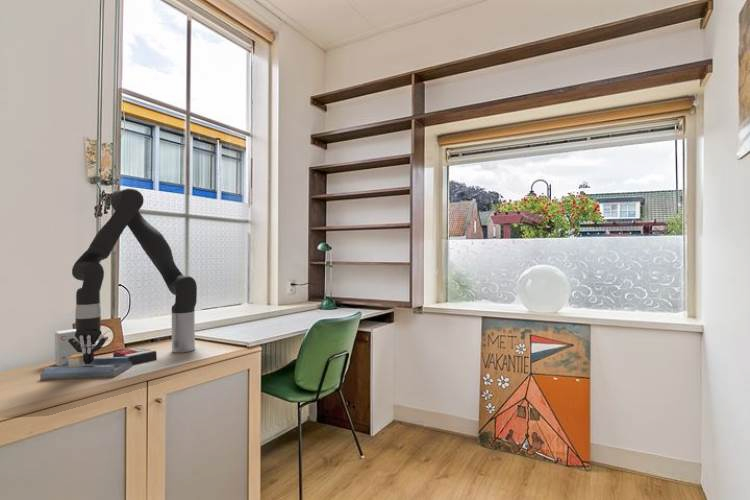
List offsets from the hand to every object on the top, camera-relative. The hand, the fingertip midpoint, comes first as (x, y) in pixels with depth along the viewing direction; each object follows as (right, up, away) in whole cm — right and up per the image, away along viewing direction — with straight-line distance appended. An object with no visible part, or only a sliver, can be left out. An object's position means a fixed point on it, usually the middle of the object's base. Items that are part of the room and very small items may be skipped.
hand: (88, 363), depth 146 cm
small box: (-17, -4, +12) cm, 21 cm away
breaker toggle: (-4, -1, 0) cm, 4 cm away
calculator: (+6, -4, +18) cm, 19 cm away
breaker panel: (0, -4, 0) cm, 4 cm away
